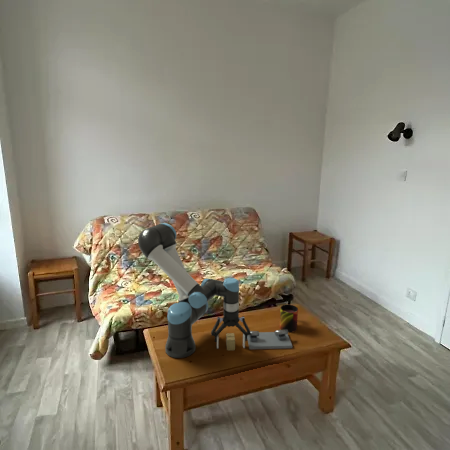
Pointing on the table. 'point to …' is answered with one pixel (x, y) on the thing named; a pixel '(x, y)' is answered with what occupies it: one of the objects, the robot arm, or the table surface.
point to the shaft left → (253, 336)
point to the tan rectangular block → (230, 341)
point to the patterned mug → (288, 317)
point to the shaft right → (281, 334)
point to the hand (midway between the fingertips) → (230, 346)
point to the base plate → (269, 341)
